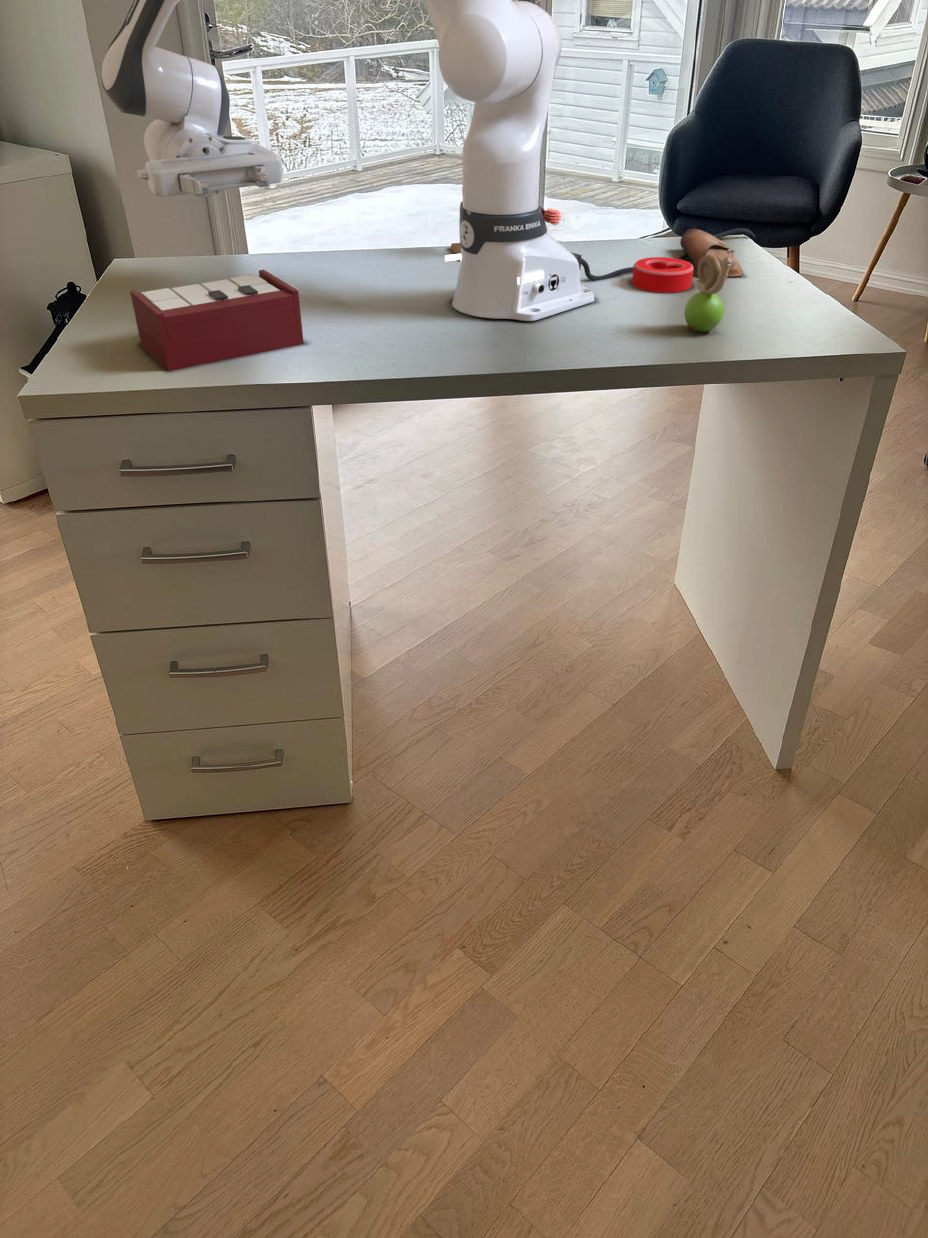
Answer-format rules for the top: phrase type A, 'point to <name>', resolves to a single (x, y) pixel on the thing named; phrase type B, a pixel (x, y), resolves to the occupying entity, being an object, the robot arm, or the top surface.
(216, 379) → the top surface
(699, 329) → the snail figurine
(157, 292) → the f key
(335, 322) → the top surface
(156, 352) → the toy piano
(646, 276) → the decorative ornament
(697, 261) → the sunglasses case
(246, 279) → the c key
